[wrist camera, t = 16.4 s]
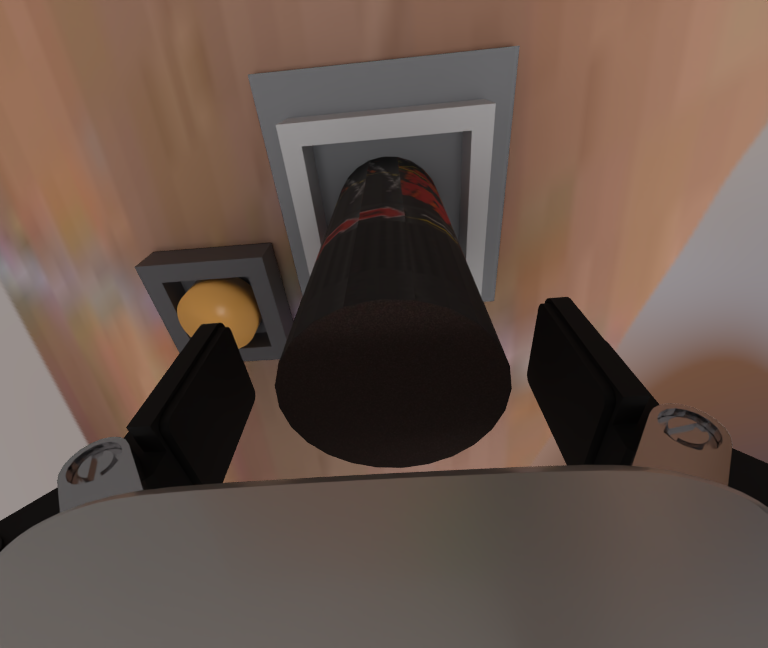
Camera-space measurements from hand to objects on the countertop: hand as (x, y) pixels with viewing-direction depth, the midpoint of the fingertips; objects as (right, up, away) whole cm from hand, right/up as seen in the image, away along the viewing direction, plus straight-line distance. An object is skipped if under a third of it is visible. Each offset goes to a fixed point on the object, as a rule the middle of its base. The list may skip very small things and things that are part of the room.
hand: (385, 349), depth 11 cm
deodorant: (0, +8, +10) cm, 13 cm away
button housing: (-11, +3, +15) cm, 19 cm away
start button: (-11, +2, +15) cm, 18 cm away
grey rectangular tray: (0, +8, +11) cm, 14 cm away
